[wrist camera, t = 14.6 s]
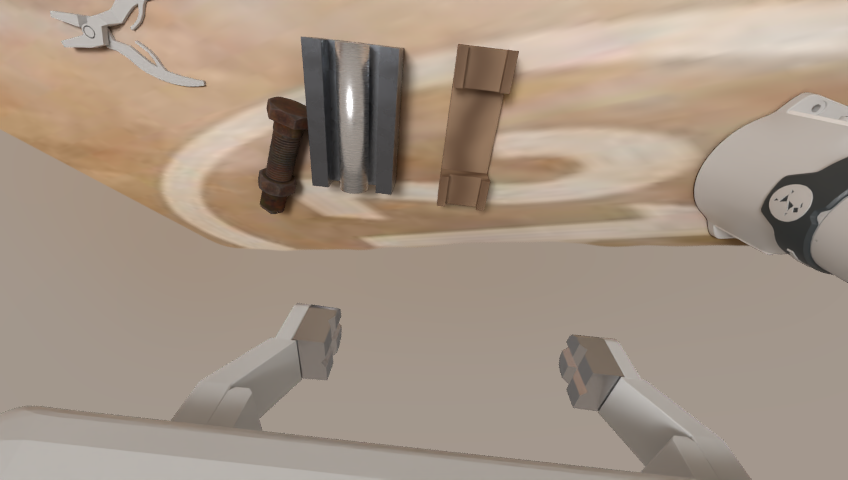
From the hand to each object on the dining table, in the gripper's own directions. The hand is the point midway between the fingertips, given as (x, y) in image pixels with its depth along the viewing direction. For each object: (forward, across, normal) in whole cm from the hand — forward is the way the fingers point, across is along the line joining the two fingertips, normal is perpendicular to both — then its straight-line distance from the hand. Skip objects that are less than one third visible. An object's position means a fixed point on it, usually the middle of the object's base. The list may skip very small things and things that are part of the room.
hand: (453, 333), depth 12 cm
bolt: (+35, +21, +6) cm, 41 cm away
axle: (+30, +11, 0) cm, 32 cm away
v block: (+34, +11, 0) cm, 36 cm away
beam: (+34, -3, 0) cm, 34 cm away
